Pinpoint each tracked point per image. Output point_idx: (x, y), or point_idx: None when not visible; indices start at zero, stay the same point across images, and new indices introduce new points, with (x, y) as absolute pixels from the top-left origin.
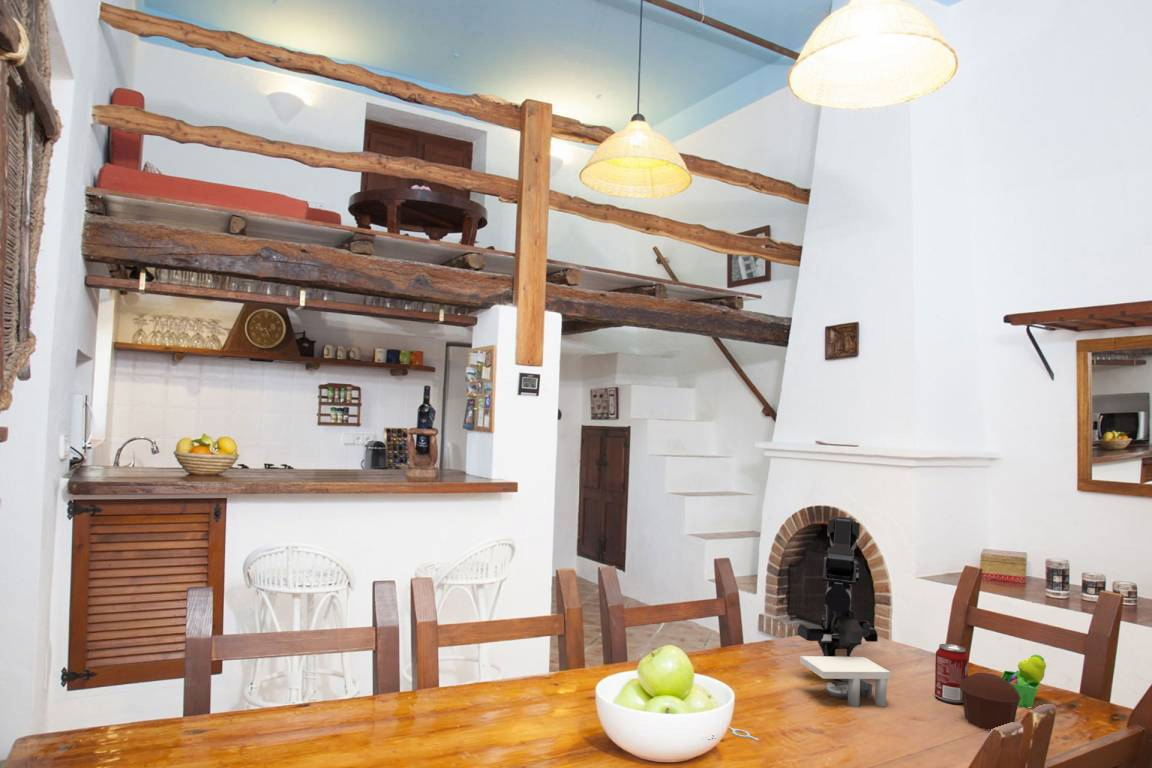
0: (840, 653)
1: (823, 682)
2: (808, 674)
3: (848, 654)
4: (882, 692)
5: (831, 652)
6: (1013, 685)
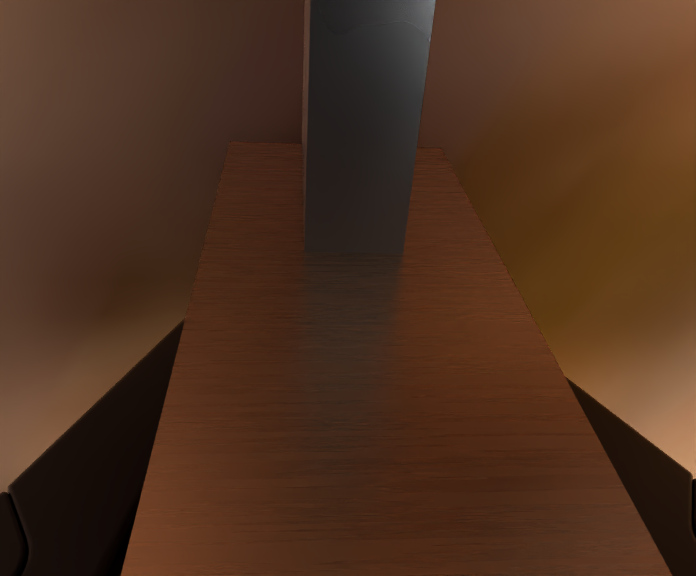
0: (416, 506)
1: (683, 61)
2: (619, 365)
3: (28, 529)
4: None
5: (690, 563)
6: None
